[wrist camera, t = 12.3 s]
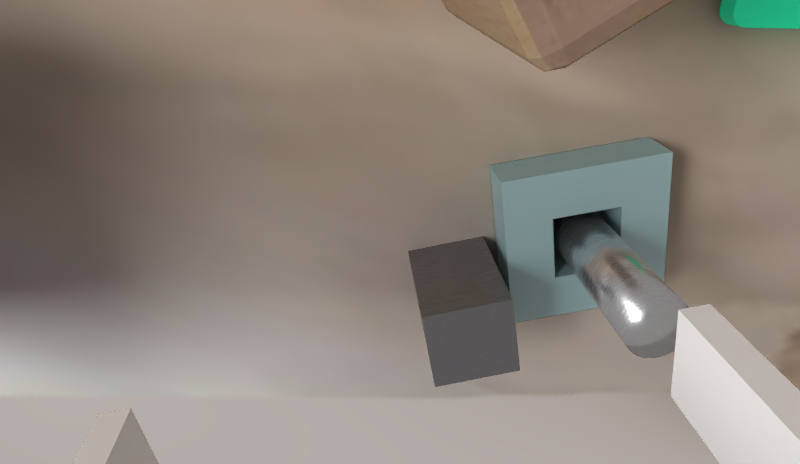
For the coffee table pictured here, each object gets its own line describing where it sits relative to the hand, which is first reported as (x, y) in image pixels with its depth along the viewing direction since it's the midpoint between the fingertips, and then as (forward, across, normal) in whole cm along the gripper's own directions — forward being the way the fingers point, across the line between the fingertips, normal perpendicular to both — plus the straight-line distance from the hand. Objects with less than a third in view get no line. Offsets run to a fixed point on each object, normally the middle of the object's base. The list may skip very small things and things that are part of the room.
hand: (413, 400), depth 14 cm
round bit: (+28, +14, -12) cm, 34 cm away
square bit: (+29, +4, -15) cm, 32 cm away
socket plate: (+28, +14, -12) cm, 34 cm away
